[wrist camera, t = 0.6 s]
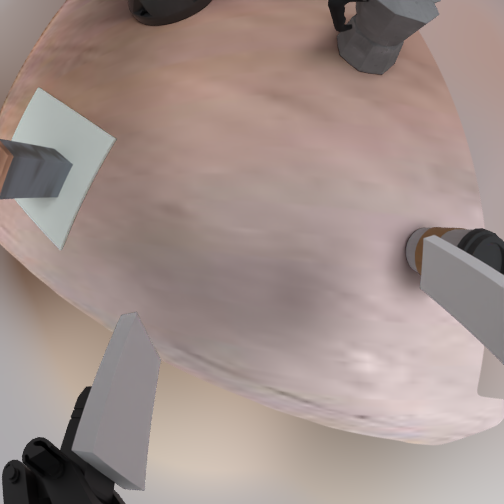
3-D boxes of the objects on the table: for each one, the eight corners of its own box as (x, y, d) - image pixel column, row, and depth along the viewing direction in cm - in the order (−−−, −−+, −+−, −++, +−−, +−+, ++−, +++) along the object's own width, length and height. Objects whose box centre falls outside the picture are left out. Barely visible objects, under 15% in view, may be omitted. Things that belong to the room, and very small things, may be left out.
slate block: (40, 180, 36) (-21, 178, 22) (54, 148, 35) (-7, 137, 21) (57, 197, 36) (-7, 199, 22) (73, 164, 35) (8, 155, 21)
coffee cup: (451, 232, 33) (520, 247, 18) (432, 285, 35) (494, 321, 20) (409, 210, 33) (478, 216, 18) (389, 268, 35) (449, 303, 20)
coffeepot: (383, 23, 28) (424, -43, 11) (414, 69, 29) (475, 14, 12) (298, 38, 30) (309, -49, 13) (329, 88, 31) (366, 10, 14)
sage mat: (-1, 176, 37) (-3, 176, 36) (39, 87, 34) (38, 87, 33) (62, 249, 38) (60, 250, 37) (116, 139, 34) (115, 138, 34)
